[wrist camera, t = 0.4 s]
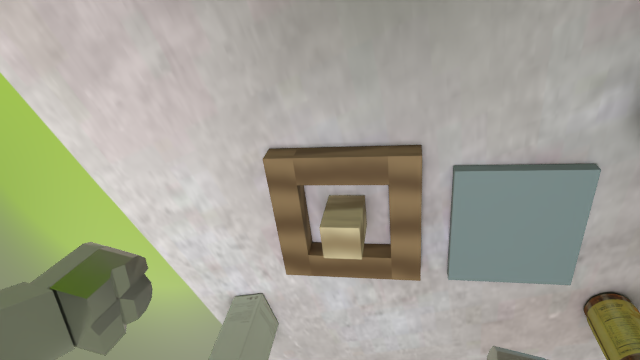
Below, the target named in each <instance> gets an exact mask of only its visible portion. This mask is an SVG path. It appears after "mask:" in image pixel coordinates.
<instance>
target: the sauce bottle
mask: <svg viewBox="0 0 640 360" xmlns="http://www.w3.org/2000/svg"><path fill="white" fill-rule="evenodd" d="M584 313H585V315H586V317H587V321H588V323H589V326H590V328H591V330H592V332H593V334H594V336H595V338H596V340H597V342H598V344H599V346H600V348H601V350H602V352H603V354H604V356H605V357H606V359H607V360H640V313H639V311H638V310H637V308H636V307H635V306H634V305H633V304H632V303H631V301H630V300H629V299H627V298H625V297H624V296H621V295H618V294H609V293H607V294H601V295H598V296H595V297H592V298H591V299H590V300H589V301H588V303H587V304H586V306H585V308H584Z"/></svg>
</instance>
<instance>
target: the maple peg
mask: <svg viewBox="0 0 640 360" xmlns="http://www.w3.org/2000/svg"><path fill="white" fill-rule="evenodd" d="M366 226H367V221H366V207H365V195H329V198H328V201H327V204H326V208H325V211H324V214H323V218H322V221H321V224H320V234H321V241H322V248H323V255H324V258H337V259H362V255H363V248H364V241H365V234H366Z"/></svg>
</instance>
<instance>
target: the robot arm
mask: <svg viewBox="0 0 640 360" xmlns="http://www.w3.org/2000/svg"><path fill="white" fill-rule="evenodd" d="M147 269H148V266H147V264H146V259H145V258H144V257H141V256H139V255H136V254H132V253H129V252H125V251H122V250H118V249H115V248H111V247H108V246H103V245H100V244H96V243H93V242H89V243H85V244H82V245H81V246H79V247H78V248H77V249H75V250H74V251H73V252H71V253H70V254H68V255H67V256H66V257H65V258H63V259H62V260H60V261H59V262H58V263H56V264H55V265H54V266H52V267H51V268H50V269H48V270H47V271H46V272H44V273H43V274H41V275H40V276H39V277H37V278H36V279H35V280H33V281H32V282H31V283H26V282H23V283H20V284H17V285H14V286H11V287H8V288H5V289H2V290H0V360H56V359H58V358H59V357H61V356H63V355H65V354H66V353H68V352H70V351H72V350H73V349H74V347H78V348H81V349H84V350H88V351H91V352H94V353H98V354H101V355H104V356H106V355H107V353H108V352H109V351H110V350H111V349H112V348H113V347H114V346H115V345H116V344H117V342H118V341H119V340H120V339H121V338H122V337H123V336H124V335H125V334H126V325H127V324H129V323H131V322H133V321H136V320H138V319H139V318H140V317H141V316H142V314H143V313H144V312H145V311H146V309H147V307H148V305H149V303H150V301H151V298H152V285H151V282H150V280H149V279H148V278H147V277H146V275H145V274H144V273H145V272H146V271H147ZM487 360H546V359H545V358H541V357H537V356H533V355H529V354H525V353H521V352H516V351H512V350H508V349H504V348H500V347H496V346H493V347H492V348H491V349H490V351H489V353H488V356H487Z"/></svg>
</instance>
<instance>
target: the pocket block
mask: <svg viewBox="0 0 640 360" xmlns="http://www.w3.org/2000/svg"><path fill="white" fill-rule="evenodd" d="M263 163H264V168H265V173H266V178H267V182H268V187H269V192H270V197H271V202H272V207H273V212H274V216H275V221H276V226H277V231H278V236H279V241H280V245H281V250H282V255H283V260H284V265H285V270H286V274H287V275H308V276H330V277H352V278H373V279H395V280H417V281H420V269H421V196H422V149H421V145H400V146H360V147H320V148H280V149H269V150H268V152H267V153H266V155H265V156H264V158H263ZM304 185H389V205H390V235H391V245H390V244H364V248H363V255H362V259H337V258H324V255H323V248H322V243H317V242H312V236H311V230H310V224H309V217H308V211H307V204H306V198H305V191H304Z"/></svg>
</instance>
